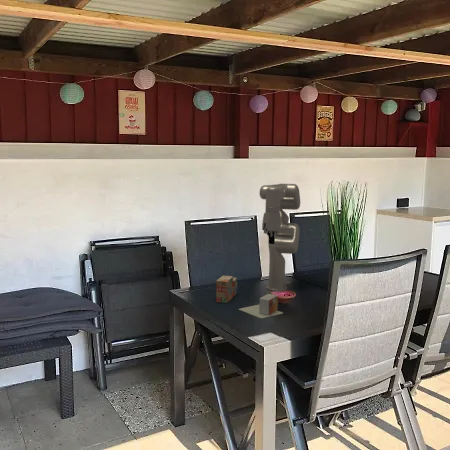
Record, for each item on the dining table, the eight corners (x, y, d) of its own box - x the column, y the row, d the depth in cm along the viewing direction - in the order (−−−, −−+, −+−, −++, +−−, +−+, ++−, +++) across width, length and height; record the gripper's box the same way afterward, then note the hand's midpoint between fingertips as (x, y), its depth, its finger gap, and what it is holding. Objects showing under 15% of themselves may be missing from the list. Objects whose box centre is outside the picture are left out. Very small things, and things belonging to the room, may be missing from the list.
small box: (277, 310, 261) (268, 315, 252) (267, 308, 264) (258, 313, 255) (278, 295, 259) (269, 300, 251) (268, 293, 262) (259, 298, 253)
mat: (260, 304, 270) (260, 304, 270) (283, 313, 256) (283, 312, 256) (238, 309, 261) (238, 308, 261) (261, 318, 247) (261, 318, 247)
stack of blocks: (226, 292, 294) (227, 271, 293) (237, 293, 293) (237, 272, 291) (215, 302, 274) (216, 280, 272) (226, 303, 272) (227, 281, 271)
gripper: (277, 208, 279) (276, 241, 281) (257, 210, 270) (256, 243, 273) (287, 210, 273) (286, 243, 276) (266, 211, 264) (265, 246, 267)
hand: (271, 243), depth 274 cm, fingers closed
